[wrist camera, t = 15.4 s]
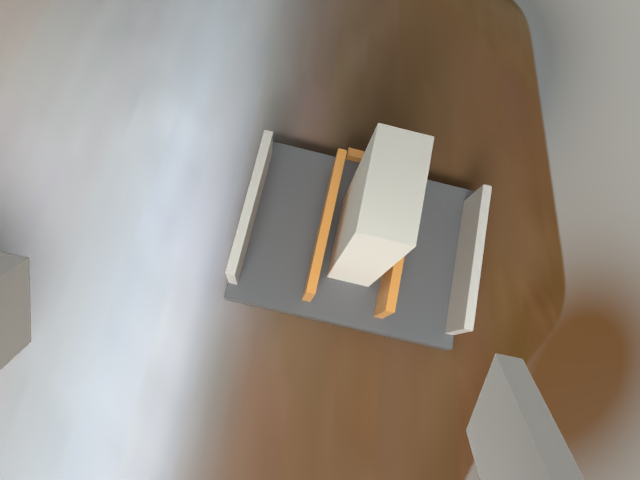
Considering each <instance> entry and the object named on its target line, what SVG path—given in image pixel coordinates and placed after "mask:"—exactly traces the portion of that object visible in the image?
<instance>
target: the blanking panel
mask: <svg viewBox="0 0 640 480" xmlns="http://www.w3.org/2000/svg"><path fill="white" fill-rule="evenodd" d="M433 142H434V137H433V136H429V135H425V134H421V133H417V132H413V131H409V130H405V129H401V128H397V127H393V126H389V125H385V124H382V123H378V124H377V126H376V128H375V131H374V133H373V135H372V137H371V139H370V142H369V144H368V146H367V148H366V150H365V153H364V155H363V157H362V159H361V161H360V164H359V166H358V168H357V170H356V172H355V175H354V177H353V179H352V181H351V183H350V186H349V188H348V190H347V192H346V194H345V197H344V199H343V204H342V209H341V213H340V218H339V222H338V227H337V232H336V236H335V241H334V246H333V250H332V255H331V259H330V264H329V269H328V273H327V277H329V278H333V279H337V280H341V281H346V282H350V283H354V284H358V285H363V286H367V287H369V286H370V285H371V284H372V283H373V282H375V281H376V280H377V279H378V278H379V277H381V276H382V275H383V274H384V273H385V272H386V271H388V270H389V269H390V268H391V267H392V266H394V265H395V264H396V263H397V262H398V261H399V260H401V259H402V258H403V257H404V256H405V255H406V254H408V253H409V252H410V251H411V250H412V249H414V248H415V247H416V243H417V237H418V231H419V225H420V219H421V213H422V207H423V201H424V195H425V189H426V184H427V178H428V172H429V166H430V160H431V154H432V148H433Z"/></svg>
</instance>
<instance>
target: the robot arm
mask: <svg viewBox="0 0 640 480" xmlns="http://www.w3.org/2000/svg"><path fill="white" fill-rule="evenodd" d="M30 342H31V311H30V273H29V258H28V257H23V256H18V255H13V254H9V253H4V252H1V253H0V370H1V369H2V368H3V367H4V366H5V365H6V364H7V363H8V362H9V361H10V360H12V359H13V358H14V357H15V356H16V355H17V354H18V353H19V352H20V351H21V350H22V349H24V348H25V347H26V346H27V345H28V344H29V343H30ZM466 432H467V435H468V439H469V443H470V446H471V450H472V454H473V457H474V461H475V465H476V468H477V472H478V475H479V479H480V480H585V479H584V477H583V475H582V473H581V472H580V469H579V468H578V466H577V464H576V462H575V460H574V458H573V456H572V454H571V452H570V450H569V448H568V446H567V444H566V442H565V440H564V438H563V436H562V435H561V433H560V431H559V429H558V427H557V425H556V423H555V421H554V419H553V417H552V415H551V413H550V412H549V409H548V407H547V405H546V403H545V401H544V399H543V398H542V396H541V394H540V392H539V390H538V388H537V386H536V384H535V382H534V380H533V378H532V376H531V374H530V372H529V370H528V368H527V366H526V364H525V363H524V361H523V359H521V358H516V357H511V356H506V355H501V354H496V353H495V356H494V359H493V361H492V364H491V366H490V369H489V372H488V374H487V377H486V380H485V382H484V385H483V387H482V390H481V393H480V395H479V398H478V400H477V403H476V406H475V408H474V411H473V414H472V416H471V419H470V421H469V424H468V427H467V429H466Z"/></svg>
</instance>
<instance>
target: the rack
mask: <svg viewBox="0 0 640 480" xmlns="http://www.w3.org/2000/svg"><path fill="white" fill-rule="evenodd" d="M346 153H347V154H346ZM364 153H365V151H361V150H357V149H353V148H348V151H347V150H344V149H340V148H338V151H337V154H336V157H334V156H330V155H326V154H322V153H318V152H314V151H310V150H306V149H302V148H298V147H294V146H290V145H286V144H282V143H278V142H274V141H273V132H271V131H267V130H264V133H263V137H262V140H261V144H260V148H259V151H258V155H257V159H256V162H255V166H254V170H253V173H252V177H251V181H250V184H249V188H248V191H247V195H246V199H245V202H244V206H243V210H242V213H241V217H240V221H239V224H238V228H237V232H236V235H235V239H234V242H233V246H232V250H231V253H230V257H229V261H228V264H227V268H226V272H225V274H226V277H227V279H228V285H227V289H226V292H225V296H224V298H225V300H229V301H234V302H238V303H242V304H247V305H251V306H255V307H260V308H264V309H268V310H273V311H277V312H281V313H286V314H290V315H294V316H299V317H303V318H307V319H311V320H316V321H320V322H324V323H329V324H333V325H337V326H342V327H346V328H350V329H355V330H359V331H363V332H368V333H372V334H376V335H381V336H385V337H389V338H394V339H398V340H402V341H407V342H411V343H415V344H420V345H424V346H428V347H432V348H437V349H441V350H445V351H446V350H452V344H453V337H454V335H456V334H461V333H466V332H470V331H473V328H474V320H475V312H476V305H477V297H478V289H479V281H480V274H481V266H482V258H483V251H484V243H485V235H486V228H487V220H488V212H489V204H490V197H491V189H492V186H489V185H485V184H483V185H482V186H481V187H480V188H479V189H477V190H476V191H475V192H474V191H472V190H468V189H464V188H460V187H456V186H452V185H447V184H443V183H439V182H435V181H431V180H427V184H426V189H425V195H424V201H423V207H422V213H421V219H420V225H419V231H418V237H417V243H416V247H415V248H414V249H412V250H411V251H410V252H409V253H408V254H406V255H405V256H404V257H403V258H402V259H401V260H399V261H398V262H397V263H396V264H395V265H394V266H392V267H391V268H390V269H389V270H388V271H386V272H385V273H384V274H383V275H382V276H381V277H379V278H378V279H377V280H376V281H375V282H373V283H372V284H371V285H370V286H369V287H367V286H363V285H358V284H354V283H350V282H346V281H341V280H337V279H333V278H329V277H327V273H328V269H329V264H330V259H331V255H332V250H333V246H334V241H335V236H336V232H337V227H338V222H339V218H340V213H341V209H342V204H343V199H344V197H345V194H346V192H347V190H348V188H349V186H350V183H351V181H352V179H353V177H354V175H355V172H356V170H357V168H358V166H359V164H360V161H361V159H362V157H363V155H364Z"/></svg>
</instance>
